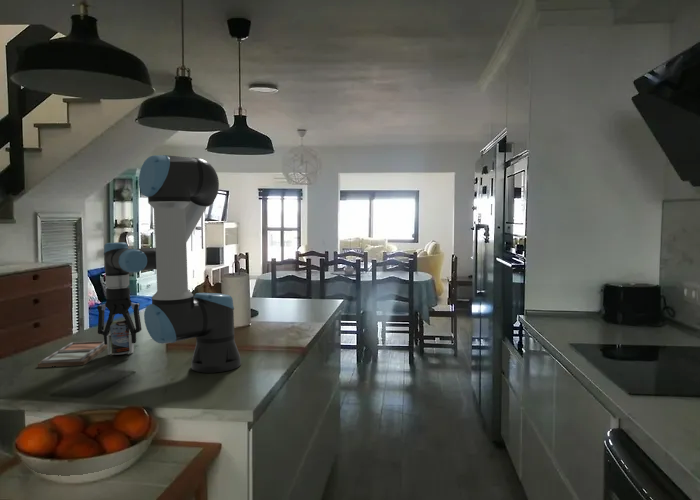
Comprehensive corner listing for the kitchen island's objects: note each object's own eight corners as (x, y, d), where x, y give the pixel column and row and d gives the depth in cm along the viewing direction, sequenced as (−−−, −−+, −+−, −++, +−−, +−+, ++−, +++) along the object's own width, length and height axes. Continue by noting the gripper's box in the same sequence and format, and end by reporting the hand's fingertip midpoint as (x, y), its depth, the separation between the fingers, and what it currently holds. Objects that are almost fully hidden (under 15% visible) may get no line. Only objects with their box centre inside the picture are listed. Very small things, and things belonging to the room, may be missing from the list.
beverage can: (114, 358, 180) (112, 322, 179) (108, 353, 185) (106, 319, 185) (133, 354, 184) (132, 320, 183) (127, 350, 189) (125, 317, 189)
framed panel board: (84, 365, 172) (83, 358, 172) (37, 367, 170) (37, 361, 170) (109, 345, 197) (109, 340, 197) (69, 347, 196) (69, 342, 196)
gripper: (149, 284, 188) (152, 348, 190) (91, 286, 186) (95, 351, 187) (144, 287, 181) (147, 354, 182) (84, 289, 178) (87, 357, 180)
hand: (120, 352), depth 185 cm, fingers closed on beverage can, 6 cm apart
